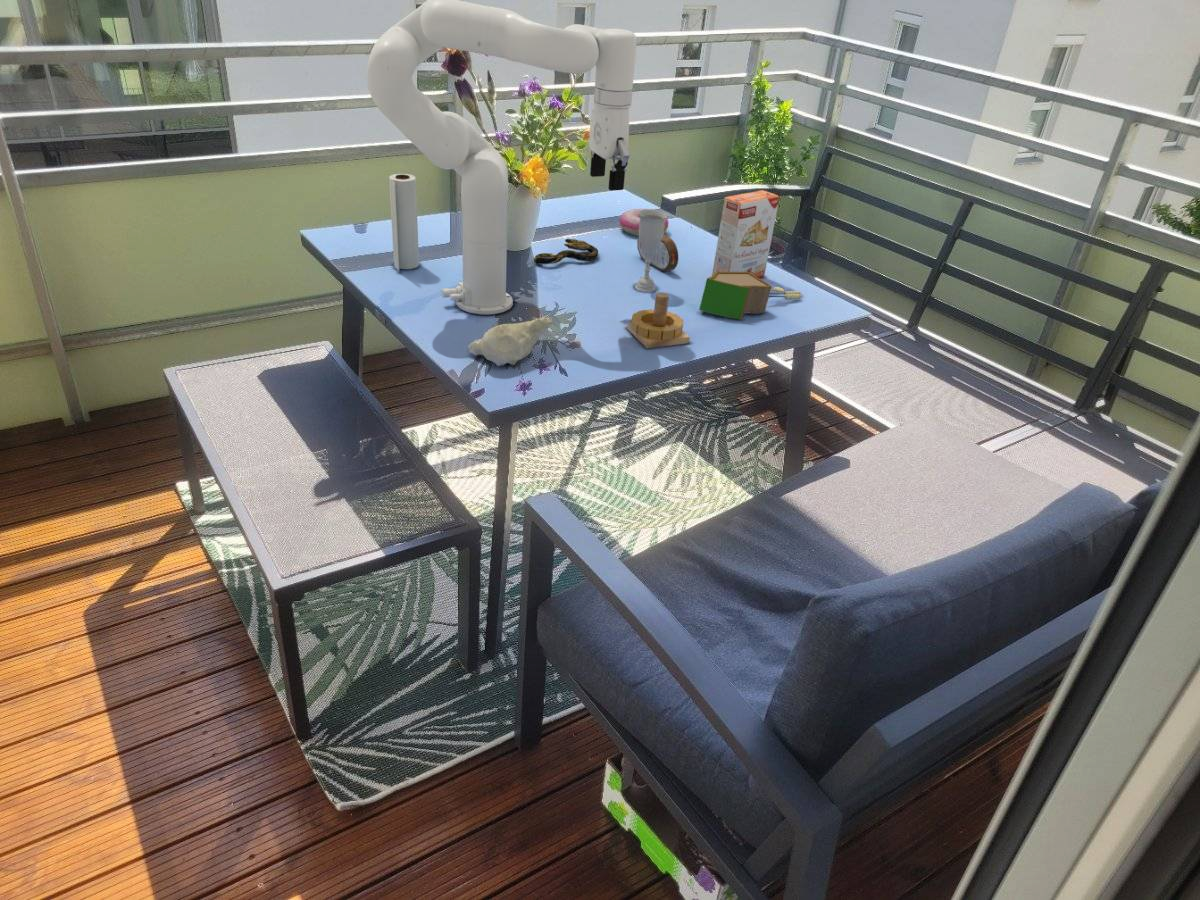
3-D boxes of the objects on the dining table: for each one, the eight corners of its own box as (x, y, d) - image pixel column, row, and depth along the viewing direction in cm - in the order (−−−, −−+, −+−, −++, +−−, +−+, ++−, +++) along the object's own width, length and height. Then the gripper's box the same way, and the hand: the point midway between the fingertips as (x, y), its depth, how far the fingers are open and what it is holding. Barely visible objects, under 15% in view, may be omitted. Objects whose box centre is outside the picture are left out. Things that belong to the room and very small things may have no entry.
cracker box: (728, 288, 221) (741, 203, 210) (710, 279, 225) (722, 196, 214) (766, 277, 229) (781, 195, 218) (748, 269, 233) (762, 188, 222)
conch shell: (467, 381, 176) (525, 349, 169) (453, 346, 177) (510, 313, 169) (512, 375, 189) (567, 345, 182) (498, 343, 190) (553, 312, 182)
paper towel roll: (409, 259, 222) (405, 171, 211) (424, 266, 219) (421, 177, 207) (384, 265, 218) (379, 175, 206) (399, 273, 214) (394, 182, 203)
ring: (644, 342, 189) (645, 333, 188) (622, 320, 197) (623, 312, 196) (691, 336, 193) (692, 327, 192) (668, 315, 201) (669, 307, 200)
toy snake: (538, 248, 220) (526, 237, 228) (537, 266, 222) (525, 255, 231) (607, 246, 227) (592, 236, 235) (605, 264, 229) (591, 253, 237)
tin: (677, 274, 226) (681, 242, 222) (667, 276, 225) (671, 243, 220) (643, 254, 237) (646, 222, 232) (633, 256, 235) (636, 224, 231)
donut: (618, 237, 246) (619, 219, 244) (619, 221, 257) (620, 204, 255) (667, 241, 246) (669, 223, 244) (666, 225, 258) (668, 208, 255)
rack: (646, 348, 190) (651, 306, 184) (626, 328, 197) (630, 287, 192) (688, 343, 193) (694, 301, 188) (667, 323, 201) (672, 283, 196)
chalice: (657, 295, 214) (665, 221, 204) (628, 291, 215) (635, 217, 205) (661, 284, 220) (669, 211, 210) (633, 280, 221) (641, 207, 211)
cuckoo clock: (783, 300, 225) (685, 301, 210) (791, 270, 222) (692, 269, 207) (814, 318, 217) (715, 320, 202) (824, 287, 213) (723, 286, 198)
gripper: (579, 88, 186) (574, 172, 196) (613, 107, 173) (606, 196, 182) (612, 87, 189) (606, 170, 198) (648, 106, 176) (640, 194, 185)
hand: (606, 182), depth 190 cm, fingers open, 9 cm apart
